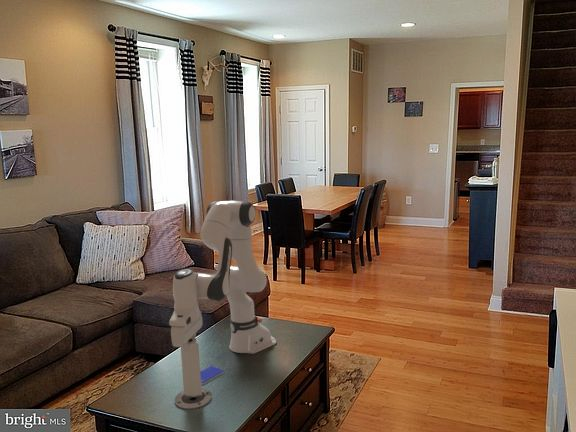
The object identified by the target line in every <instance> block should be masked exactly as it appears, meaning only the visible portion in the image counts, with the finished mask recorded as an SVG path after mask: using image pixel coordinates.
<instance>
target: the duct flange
mask: <svg viewBox="0 0 576 432" xmlns="http://www.w3.org/2000/svg"><path fill="white" fill-rule="evenodd" d="M201 390H202V395H197V396H187V395H185V394H184V390H182V391H180V392H179V393H178V394H177V395H176V396H175V398H174V404H175V406H176V407H178V408H180V409H183V410H195V409H199V408H202V407H205V406H206V405H208V404H209V403H210V402H211V401H212V398H213V397H212V392H211V391H210V390H208V388H207V389H206V388H204V387H201Z"/></svg>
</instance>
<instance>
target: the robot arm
mask: <svg viewBox="0 0 576 432" xmlns="http://www.w3.org/2000/svg"><path fill="white" fill-rule="evenodd" d="M205 212H206V213H205V217H204V221H203V223H202V226H201V229H200V233H199V234H200V236H199V237H200V238H201V241H202V243H203V244H204V245H205V246H206V247H207V248H209V249H210V250H212V251H215V252H217V253H218V262H217V270H216V272H215V273H203V272H194V270H192V269H190V268H185V269H179V270H177V271H176V272H175V273H174V275H173V279H172V296H173V300H174V305H173V308H174V311H173V313H172V315H171V317H170V319H169V322H168V323H169V324H168V325H169V326H171V327H170V336H171V338H170V339H171V344H172V346H173V347H174V348H181V347H183V348H184V351H185V352H188V340H189V339H190V338H195V339H196V336H197V332H198V331H199V330H200V329H201V328H202V327H203V324H204V323H203V316H202V315H203V314H202V312H201V310H200V308H199V303H198V299H204V300H210V301H214V302H221V301H222V300H224V299H225V298H227V300H228V304H229V310H230V311H229V312H230V320H229V321H230V322H229V323H230V333H231V334H230V342H229V347H228V348H229V350H230V351H231V352H233V353H238V354H239V353H240V354H253V355H254V354H256V353H258V352H259V353H260V352H261V351H263V350H265V349H267V348H270V347H273V346H274V345H277V340H276V338H275V337H274V336H272V334H271V331H270V330H269V328H268V327H266V326H265V325H263V324H261V323H262V322H263V318H261V317H258V316H256V315H255V302H254V300H253V299H252V298H251V297H250V296H249V295H248V294H247V293H261V292H262V291H263V290H264V289H265V287H266V286H267V280H268V279H267V275H266V273H265V272H264V271H263V270H262V269H261V268H260V266H259V265H258V264H257V262H256V260H255V257H254V253H253V241H252V240H253V239H252V237H253V236H252V234H253V233H252V226H251V225H252V224H253V223H254V221H255V219H256V207H255V206H254V204H253V203H252V202H249V201H246V200H244V201H241V200H232V199H230V200H221V201H219V200H215V201H212V202H210V203H209V204H208V206H207V207H206V211H205ZM232 260H233V261H234V263H235V264H236V265H232Z"/></svg>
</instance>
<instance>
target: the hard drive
mask: <svg viewBox="0 0 576 432" xmlns="http://www.w3.org/2000/svg"><path fill="white" fill-rule="evenodd" d="M224 373H225V370H224V369H220V368H219V367H215V366H213V365H210V366H208V367H206V368H205V369H203V370H200V375H201V386H203V385H206V384H207V383H209V382H210V381H213V380H214V379H216V378H217V377H220V376H221V375H223V374H224Z"/></svg>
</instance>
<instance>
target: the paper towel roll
mask: <svg viewBox="0 0 576 432" xmlns="http://www.w3.org/2000/svg"><path fill="white" fill-rule="evenodd" d="M180 356H181V357H180V358H181V368H182V383H183V391H184V394H185V395H187V396H197V395H202V390H201V388H202V384H201V375H200V371H201V364H200V363H201V362H200V347H199V343H198V342H197V339H196V337H195V338H190V339H189V340H188V352H185V351H184V348H183V347H180Z"/></svg>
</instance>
